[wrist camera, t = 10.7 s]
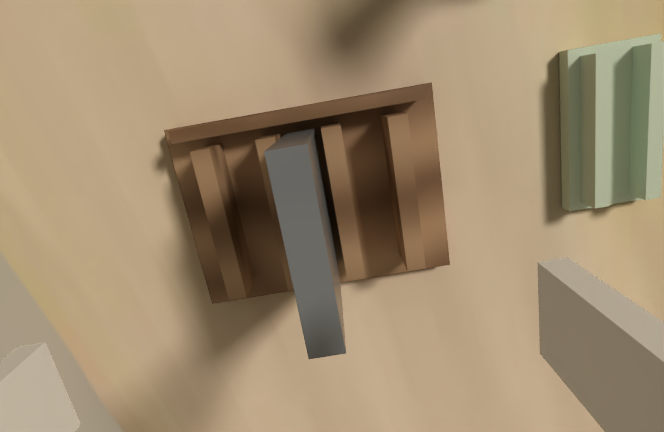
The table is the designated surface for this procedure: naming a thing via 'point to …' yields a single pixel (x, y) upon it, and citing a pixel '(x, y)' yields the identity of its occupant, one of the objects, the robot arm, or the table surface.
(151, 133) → the table surface
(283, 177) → the thick grey slab
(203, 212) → the rack
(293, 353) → the table surface
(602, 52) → the stand
